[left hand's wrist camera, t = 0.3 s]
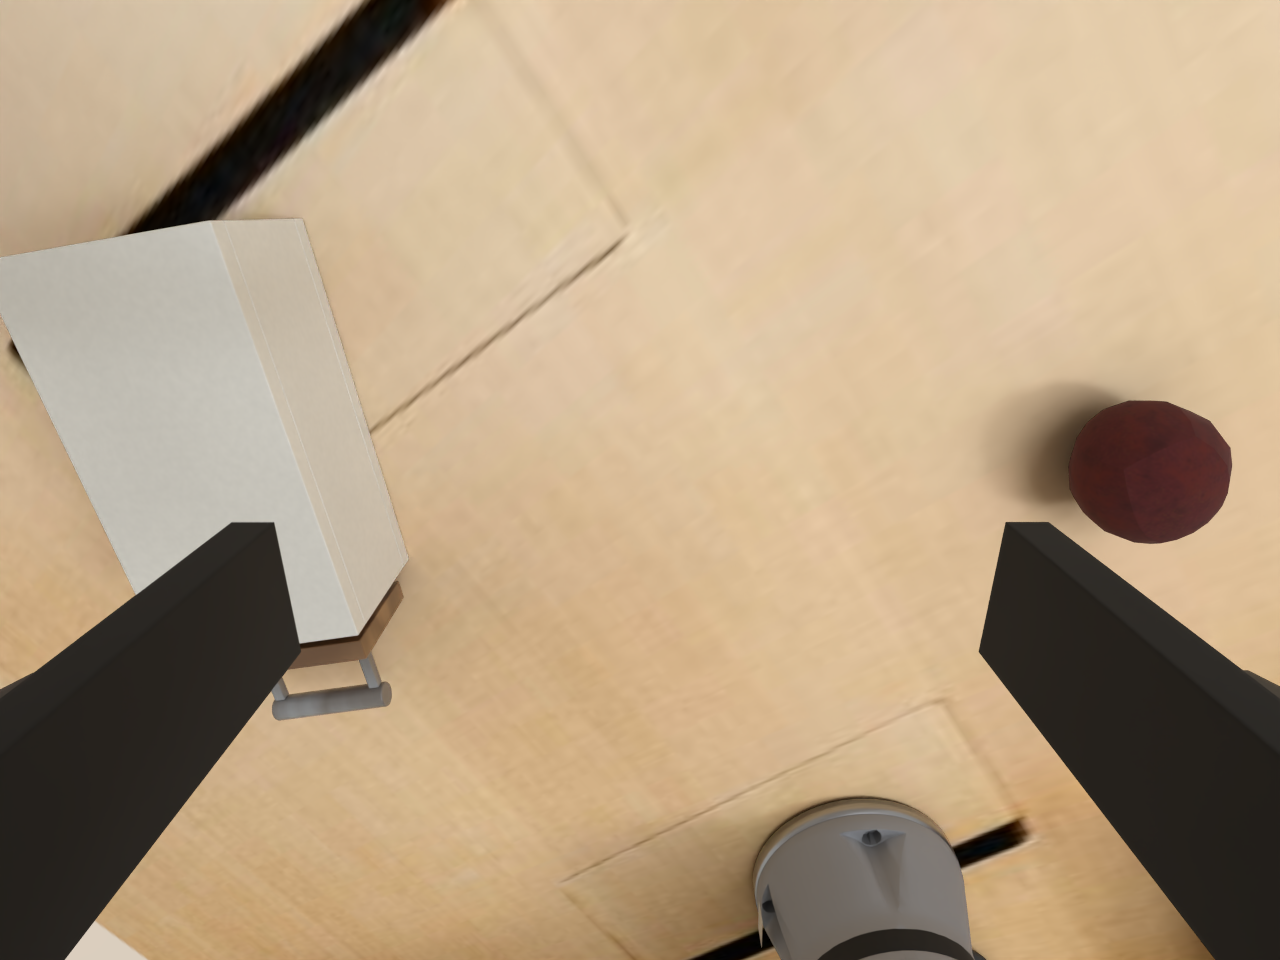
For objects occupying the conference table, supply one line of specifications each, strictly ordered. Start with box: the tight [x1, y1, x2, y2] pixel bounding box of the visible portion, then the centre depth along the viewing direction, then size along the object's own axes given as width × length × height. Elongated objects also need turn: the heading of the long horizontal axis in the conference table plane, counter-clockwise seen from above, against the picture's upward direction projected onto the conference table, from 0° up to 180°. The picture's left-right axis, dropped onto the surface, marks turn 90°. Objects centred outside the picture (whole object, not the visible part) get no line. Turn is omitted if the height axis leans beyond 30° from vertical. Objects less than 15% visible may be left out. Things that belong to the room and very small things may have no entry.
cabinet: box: [0, 218, 409, 643], centre depth 36 cm, size 20×10×8 cm, turn 9°
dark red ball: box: [1069, 401, 1232, 544], centre depth 37 cm, size 7×8×7 cm
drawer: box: [272, 581, 404, 720], centre depth 38 cm, size 24×9×6 cm, turn 9°
